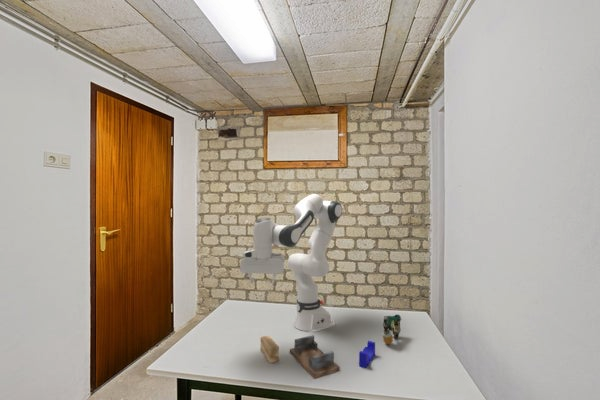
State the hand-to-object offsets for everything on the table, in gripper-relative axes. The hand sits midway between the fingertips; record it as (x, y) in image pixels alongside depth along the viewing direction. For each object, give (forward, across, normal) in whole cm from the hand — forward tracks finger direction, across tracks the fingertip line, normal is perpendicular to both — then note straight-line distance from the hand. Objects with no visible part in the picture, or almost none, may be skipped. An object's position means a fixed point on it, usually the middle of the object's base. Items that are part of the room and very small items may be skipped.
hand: (262, 282), depth 140 cm
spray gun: (+30, -62, -11) cm, 70 cm away
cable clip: (+30, -47, +8) cm, 56 cm away
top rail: (+30, -5, +6) cm, 31 cm away
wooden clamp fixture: (+30, -24, +10) cm, 40 cm away
